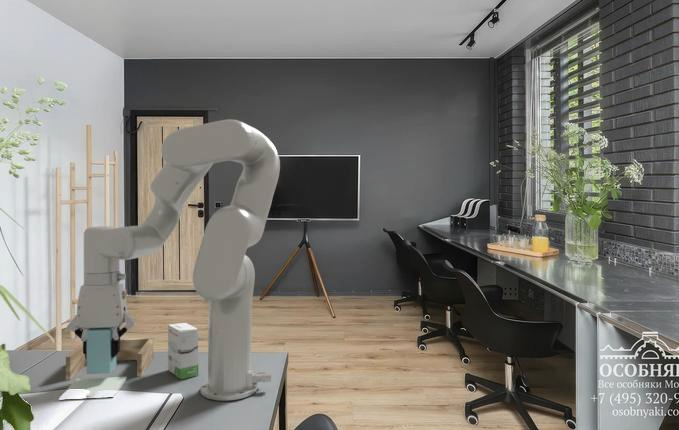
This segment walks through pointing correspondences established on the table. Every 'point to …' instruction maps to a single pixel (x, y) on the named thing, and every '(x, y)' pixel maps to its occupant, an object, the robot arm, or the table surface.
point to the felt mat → (98, 384)
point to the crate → (128, 351)
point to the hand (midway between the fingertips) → (101, 355)
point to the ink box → (183, 350)
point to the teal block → (99, 351)
